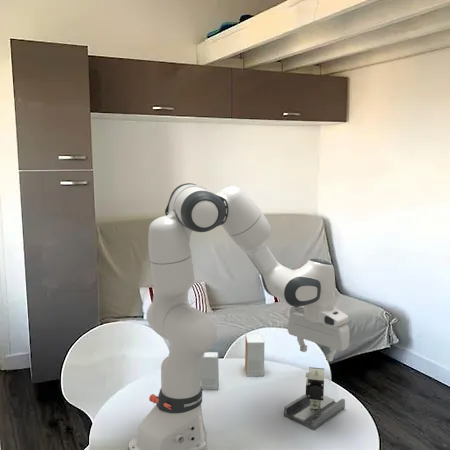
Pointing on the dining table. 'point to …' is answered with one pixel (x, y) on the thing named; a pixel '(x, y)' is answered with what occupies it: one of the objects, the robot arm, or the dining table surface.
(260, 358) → the small box
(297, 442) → the dining table surface
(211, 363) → the skincare box
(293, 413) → the rail plate
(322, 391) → the pneumatic valve
